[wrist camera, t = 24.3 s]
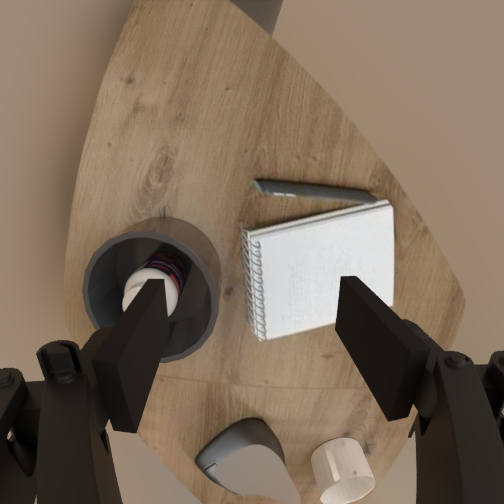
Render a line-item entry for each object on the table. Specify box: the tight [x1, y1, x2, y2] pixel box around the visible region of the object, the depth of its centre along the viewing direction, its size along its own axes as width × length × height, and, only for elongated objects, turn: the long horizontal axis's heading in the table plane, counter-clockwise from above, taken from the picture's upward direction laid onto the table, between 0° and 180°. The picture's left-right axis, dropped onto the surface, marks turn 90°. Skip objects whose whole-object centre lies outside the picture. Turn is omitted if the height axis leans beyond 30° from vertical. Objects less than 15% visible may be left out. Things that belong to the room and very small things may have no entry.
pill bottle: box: [122, 253, 186, 316], centre depth 31 cm, size 5×5×10 cm
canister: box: [83, 217, 221, 363], centre depth 32 cm, size 13×13×9 cm
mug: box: [311, 438, 376, 504], centre depth 41 cm, size 12×9×9 cm
